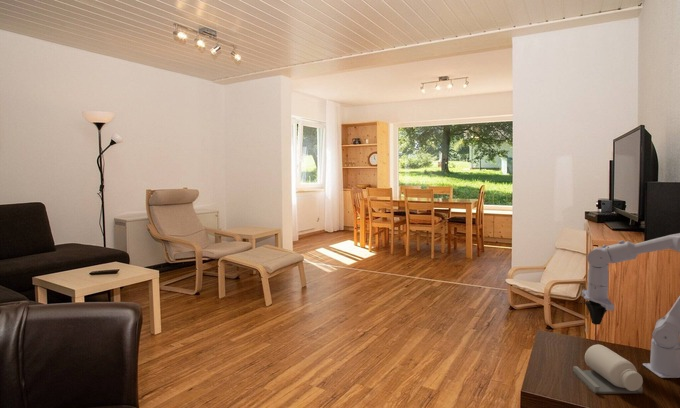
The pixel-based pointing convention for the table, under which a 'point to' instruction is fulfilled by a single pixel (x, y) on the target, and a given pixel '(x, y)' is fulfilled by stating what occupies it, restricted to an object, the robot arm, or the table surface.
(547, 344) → the table surface
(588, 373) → the grey tray
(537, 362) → the table surface
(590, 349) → the pill bottle
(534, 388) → the table surface
